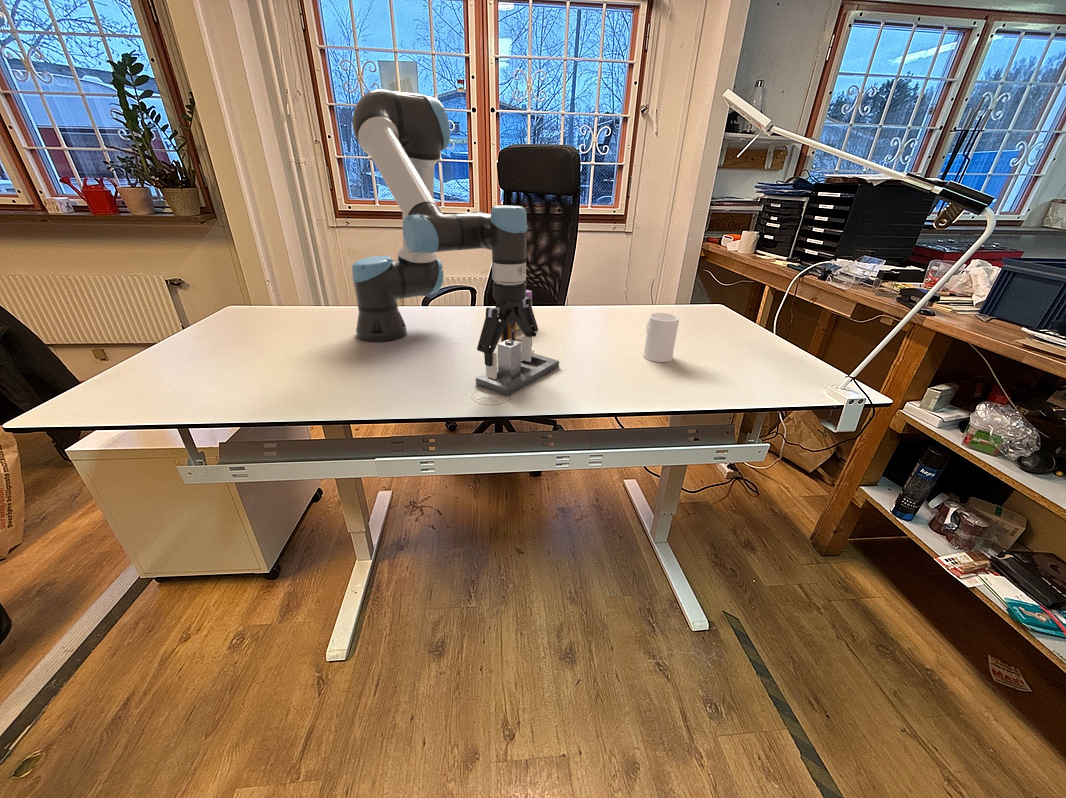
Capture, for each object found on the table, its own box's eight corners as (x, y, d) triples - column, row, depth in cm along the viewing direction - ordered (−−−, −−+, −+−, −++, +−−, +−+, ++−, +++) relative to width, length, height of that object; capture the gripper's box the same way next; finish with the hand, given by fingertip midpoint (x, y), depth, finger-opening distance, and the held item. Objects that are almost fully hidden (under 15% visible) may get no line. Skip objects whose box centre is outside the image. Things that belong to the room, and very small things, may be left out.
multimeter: (531, 359, 119) (533, 287, 110) (497, 355, 121) (496, 285, 112) (541, 341, 132) (543, 276, 123) (510, 339, 134) (510, 274, 124)
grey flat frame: (476, 385, 103) (475, 377, 102) (529, 358, 119) (529, 352, 118) (507, 396, 98) (507, 389, 97) (558, 367, 114) (559, 360, 113)
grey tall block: (498, 381, 105) (497, 342, 101) (508, 376, 108) (508, 337, 104) (511, 385, 103) (510, 346, 99) (520, 380, 106) (521, 341, 102)
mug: (633, 348, 129) (638, 309, 123) (659, 347, 130) (665, 308, 125) (650, 363, 118) (657, 321, 113) (678, 361, 120) (686, 320, 114)
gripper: (484, 294, 83) (487, 390, 93) (554, 275, 101) (550, 357, 111) (457, 288, 87) (463, 381, 97) (529, 271, 105) (527, 350, 115)
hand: (509, 368), depth 104 cm, fingers open, 13 cm apart
